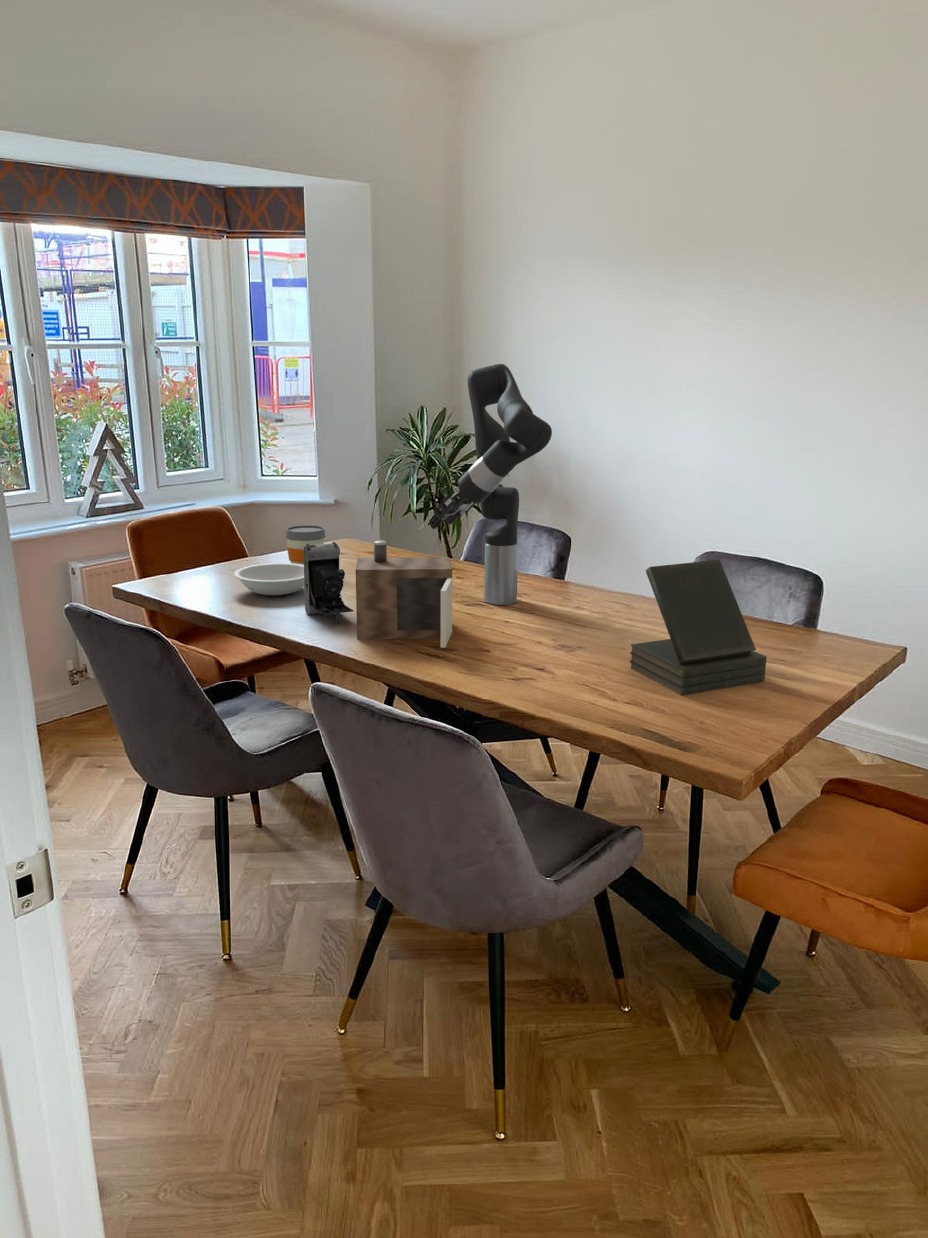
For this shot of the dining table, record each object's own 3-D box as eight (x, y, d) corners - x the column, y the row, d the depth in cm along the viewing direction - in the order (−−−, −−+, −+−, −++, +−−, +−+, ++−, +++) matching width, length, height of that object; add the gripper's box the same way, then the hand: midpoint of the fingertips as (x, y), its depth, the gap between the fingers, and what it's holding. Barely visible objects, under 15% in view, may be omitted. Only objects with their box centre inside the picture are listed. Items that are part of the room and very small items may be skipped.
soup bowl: (309, 604, 276) (308, 581, 274) (225, 603, 276) (224, 580, 274) (322, 584, 299) (321, 563, 297) (245, 583, 299) (244, 562, 297)
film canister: (387, 559, 250) (386, 540, 249) (387, 562, 247) (386, 543, 245) (374, 559, 250) (373, 540, 248) (373, 562, 246) (373, 543, 245)
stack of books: (680, 697, 206) (688, 583, 199) (628, 669, 223) (634, 564, 216) (764, 683, 215) (775, 574, 208) (709, 657, 232) (717, 556, 225)
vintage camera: (321, 629, 253) (321, 555, 247) (303, 612, 266) (302, 542, 260) (356, 625, 258) (357, 552, 252) (336, 609, 271) (336, 540, 265)
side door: (447, 630, 244) (447, 577, 240) (452, 631, 244) (452, 577, 240) (440, 647, 231) (440, 590, 227) (445, 647, 230) (445, 590, 227)
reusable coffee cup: (323, 579, 305) (321, 532, 301) (283, 578, 305) (281, 532, 301) (329, 570, 317) (327, 525, 313) (291, 569, 317) (289, 524, 313)
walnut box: (449, 622, 258) (449, 557, 253) (451, 638, 245) (452, 569, 240) (359, 623, 257) (357, 557, 252) (357, 639, 243) (355, 569, 238)
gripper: (488, 463, 229) (446, 507, 238) (456, 469, 217) (413, 516, 226) (507, 487, 228) (464, 531, 237) (476, 494, 216) (432, 540, 225)
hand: (439, 523), depth 231 cm, fingers open, 6 cm apart
